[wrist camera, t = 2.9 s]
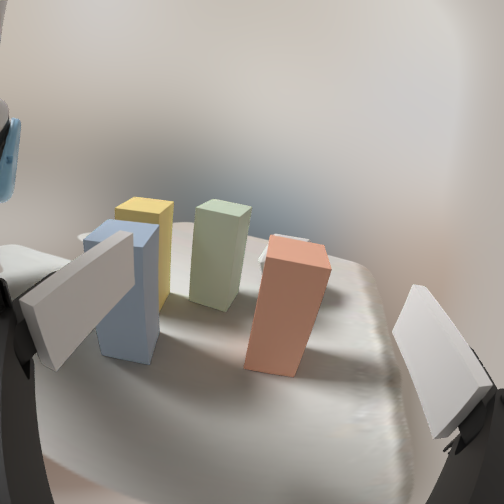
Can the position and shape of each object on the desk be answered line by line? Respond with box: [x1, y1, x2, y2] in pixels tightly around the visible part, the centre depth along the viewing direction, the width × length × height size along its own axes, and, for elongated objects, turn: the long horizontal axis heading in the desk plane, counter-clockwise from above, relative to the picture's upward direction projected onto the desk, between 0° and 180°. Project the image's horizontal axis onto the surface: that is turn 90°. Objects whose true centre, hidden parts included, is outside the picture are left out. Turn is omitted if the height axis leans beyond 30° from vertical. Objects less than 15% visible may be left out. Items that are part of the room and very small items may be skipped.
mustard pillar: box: [115, 197, 174, 312], centre depth 31 cm, size 5×5×12 cm
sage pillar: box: [189, 199, 252, 312], centre depth 34 cm, size 5×5×12 cm
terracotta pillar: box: [243, 235, 332, 377], centre depth 25 cm, size 5×5×12 cm
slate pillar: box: [83, 219, 160, 365], centre depth 23 cm, size 5×5×12 cm
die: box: [258, 234, 311, 275], centre depth 40 cm, size 8×9×10 cm
